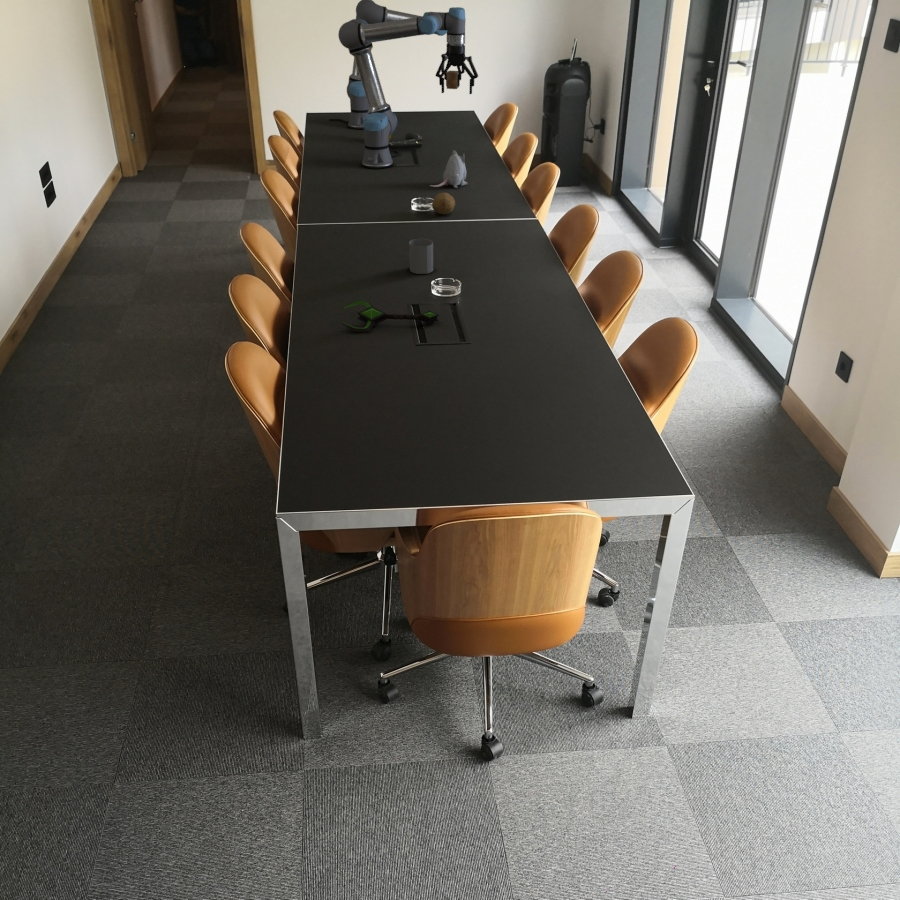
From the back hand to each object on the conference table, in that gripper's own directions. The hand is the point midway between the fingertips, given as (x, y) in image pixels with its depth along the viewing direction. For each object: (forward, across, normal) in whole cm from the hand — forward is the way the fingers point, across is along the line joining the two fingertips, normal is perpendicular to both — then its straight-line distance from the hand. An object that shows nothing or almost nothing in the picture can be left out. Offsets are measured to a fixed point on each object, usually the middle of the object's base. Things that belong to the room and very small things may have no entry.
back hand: (452, 85), depth 510 cm
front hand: (-14, +21, -100) cm, 103 cm away
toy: (+18, +26, -146) cm, 150 cm away
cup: (+18, +36, -248) cm, 252 cm away
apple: (+18, -25, -68) cm, 75 cm away
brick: (+1, 0, 0) cm, 1 cm away
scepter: (+18, +37, -295) cm, 298 cm away
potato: (+18, +31, -183) cm, 187 cm away
